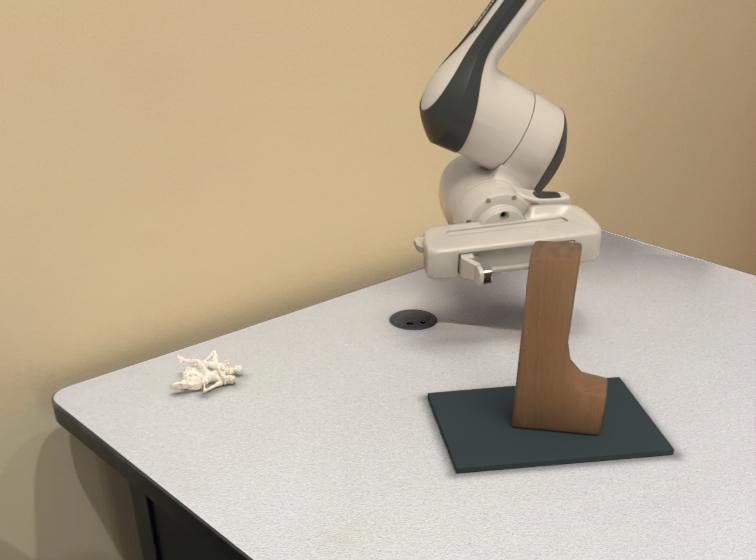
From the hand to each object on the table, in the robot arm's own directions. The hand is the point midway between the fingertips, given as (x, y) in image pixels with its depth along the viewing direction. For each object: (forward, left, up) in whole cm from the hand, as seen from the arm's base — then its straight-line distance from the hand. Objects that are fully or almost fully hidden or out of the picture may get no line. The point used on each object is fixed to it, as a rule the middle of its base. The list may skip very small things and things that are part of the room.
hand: (528, 273), depth 98 cm
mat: (+1, +13, -11) cm, 17 cm away
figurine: (+37, -3, -11) cm, 39 cm away
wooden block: (0, +14, -11) cm, 18 cm away
